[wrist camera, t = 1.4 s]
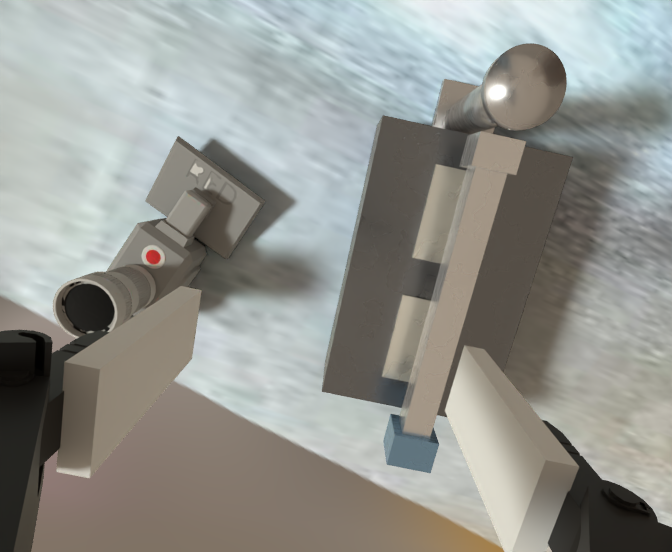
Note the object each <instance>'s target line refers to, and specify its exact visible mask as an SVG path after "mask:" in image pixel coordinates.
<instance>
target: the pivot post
mask: <svg viewBox="0 0 672 552" xmlns="http://www.w3.org/2000/svg"><path fill="white" fill-rule="evenodd" d="M565 92H566V73H565V69H564V66H563V64H562V62H561V60H560V59H559V58H558V56H557V55H556V54H555V53H554V52H553V51H551V50H550V49H548V48H546V47H544V46H542V45H538V44H522V45H518V46H515V47H513V48H511V49H509V50H508V51H506V52H505V53H503V54H502V55H501V56H500V57H498V58H497V59H496V60H495V61H494V62H493V63H492V64H491V66H490V67H489V69H488V70H487V72H486V74H485V76H484V79H483V82H482V84H481V85H480V86H474V85H470V84H465V83H461V82H456V81H452V80H447V79H444V80H443V81H442V85H441V89H440V93H439V97H438V102H437V106H436V110H435V114H434V118H433V122H432V126H434V127H438V128H443V129H447V130H452V131H456V132H461V133H465V134H470V135H472V134H474V133H477V132H480V131H482V132H486V133H491V134H493V132H494V128H495V127H497V126H499V127H501V128H504V129H507V130H512V131H521V130H526V129H530V128H534V127H536V126H539V125H541V124H543V123H544V122H546V121H547V120H549V119H550V118H551V117H552V116H553V115H554V114H555V112H556V111H557V110H558V108H559V107H560V105H561V103H562V101H563V98H564V96H565Z"/></svg>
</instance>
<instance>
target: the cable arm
mask: <svg viewBox="0 0 672 552" xmlns="http://www.w3.org/2000/svg"><path fill="white" fill-rule="evenodd" d="M525 144H526V141H522V140H518V139H513V138H509V137H504V136H500V135H495V134H491V133H486V132H482V131H480V132H477V133H474V134H472V135H469V136H467V140H466V144H465V148H464V151H463V155H462V159H461V163H460V166H459V167H464V168H467V169H466V173H465V176H464V180H463V184H462V188H461V191H460V195H459V199H458V202H457V206H456V210H455V213H454V217H453V221H452V224H451V228H450V232H449V235H448V239H447V243H446V247H445V250H444V254H443V258H442V261H441V265H440V269H439V272H438V276H437V280H436V283H435V287H434V291H433V295H432V298H431V302H430V306H429V309H428V313H427V317H426V320H425V324H424V328H423V331H422V335H421V339H420V342H419V346H418V350H417V354H416V357H415V361H414V365H413V368H412V372H411V376H410V379H409V383H408V387H407V390H406V394H405V398H404V401H403V405H402V409H401V413H400V416H399V415H394V414H391V415H390V418H389V422H388V426H387V430H386V433H385V437H384V448H385V455H386V462H387V465H392V466H397V467H402V468H407V469H412V470H417V471H422V472H427V473H431V469H432V466H433V463H434V459H435V456H436V453H437V449H438V446H439V443H438V440H437V437H436V434H435V431H434V428H433V426H434V423H435V419H436V416H437V412H438V409H439V406H440V402H441V399H442V395H443V392H444V388H445V385H446V382H447V378H448V375H449V371H450V368H451V365H452V361H453V358H454V354H455V351H456V348H457V344H458V341H459V337H460V334H461V330H462V327H463V324H464V320H465V317H466V313H467V310H468V307H469V303H470V300H471V296H472V293H473V289H474V286H475V283H476V279H477V276H478V272H479V269H480V266H481V262H482V259H483V255H484V252H485V248H486V245H487V242H488V238H489V235H490V231H491V228H492V225H493V221H494V218H495V214H496V211H497V207H498V204H499V201H500V197H501V194H502V190H503V187H504V184H505V180H506V177H507V175H516V174H517V171H518V167H519V164H520V161H521V157H522V154H523V150H524V147H525Z"/></svg>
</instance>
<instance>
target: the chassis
mask: <svg viewBox="0 0 672 552" xmlns="http://www.w3.org/2000/svg"><path fill="white" fill-rule="evenodd" d="M469 135H470V134H465V133H461V132H456V131H452V130H447V129H443V128H438V127H434V126H429V125H424V124H420V123H415V122H411V121H406V120H402V119H397V118H393V117H388V116H382V118H381V120H380V121H379V123H378V125H377V128H376V133H375V137H374V142H373V147H372V151H371V156H370V160H369V165H368V169H367V174H366V178H365V183H364V187H363V192H362V196H361V201H360V206H359V210H358V215H357V219H356V224H355V228H354V233H353V237H352V242H351V246H350V251H349V255H348V260H347V265H346V269H345V274H344V278H343V283H342V287H341V292H340V296H339V301H338V305H337V310H336V315H335V319H334V324H333V328H332V333H331V337H330V342H329V346H328V351H327V355H326V360H325V367H324V376H323V385H322V392H327V393H332V394H337V395H341V396H346V397H351V398H356V399H361V400H366V401H371V402H376V403H381V404H386V405H391V406H395V407H400V408H402V405H403V401H404V398H405V394H406V390H407V387H408V383H409V379H410V376H411V372H412V368H413V365H414V361H415V357H416V354H417V350H418V346H419V342H420V339H421V335H422V331H423V328H424V324H425V320H426V317H427V313H428V309H429V306H430V302H431V298H432V295H433V291H434V287H435V283H436V280H437V276H438V272H439V269H440V265H441V261H442V258H443V254H444V250H445V247H446V243H447V239H448V235H449V232H450V228H451V224H452V221H453V217H454V213H455V210H456V206H457V202H458V199H459V195H460V191H461V188H462V184H463V180H464V176H465V173H466V169H467V168H464V167H459V166H460V163H461V159H462V155H463V151H464V148H465V144H466V140H467V136H469ZM572 158H573V157H570V156H565V155H561V154H556V153H552V152H547V151H543V150H538V149H534V148H529V147H524V150H523V154H522V157H521V161H520V164H519V167H518V171H517V174H516V175H507V177H506V180H505V184H504V187H503V190H502V194H501V197H500V201H499V204H498V207H497V211H496V214H495V218H494V221H493V225H492V228H491V231H490V235H489V238H488V242H487V245H486V248H485V252H484V255H483V259H482V262H481V266H480V269H479V272H478V276H477V279H476V283H475V286H474V289H473V293H472V296H471V300H470V303H469V307H468V310H467V313H466V317H465V320H464V324H463V327H462V330H461V334H460V337H459V341H458V344H457V348H456V351H455V354H454V358H453V361H452V365H451V368H450V371H449V375H448V378H447V382H446V385H445V388H444V392H443V395H442V399H441V402H440V406H439V409H438V412H437V415H440V416H445V417H447V415H446V412H445V408H446V405H447V402H448V398H449V395H450V392H451V388H452V385H453V382H454V378H455V375H456V372H457V368H458V365H459V362H460V358H461V355H462V352H463V348H464V345H466V346H471V347H476V348H480V349H485V351H486V352H487V353H488V354H489V356H490V357H491V358H492V359H493V361H494V362H495V363H496V364H497V366H498V367H499V368H500V369H501V370H502V372H504V368H505V365H506V362H507V359H508V356H509V353H510V350H511V347H512V344H513V341H514V338H515V334H516V331H517V328H518V325H519V322H520V319H521V316H522V313H523V310H524V307H525V304H526V300H527V297H528V294H529V291H530V288H531V285H532V282H533V279H534V276H535V273H536V270H537V267H538V263H539V260H540V257H541V254H542V251H543V248H544V245H545V242H546V239H547V236H548V233H549V229H550V226H551V223H552V220H553V217H554V214H555V211H556V208H557V205H558V202H559V199H560V195H561V192H562V189H563V186H564V183H565V180H566V177H567V174H568V171H569V168H570V165H571V161H572Z"/></svg>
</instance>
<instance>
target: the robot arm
mask: <svg viewBox="0 0 672 552" xmlns="http://www.w3.org/2000/svg"><path fill="white" fill-rule="evenodd" d="M201 292H202V290H199V289H194V288H189V287H184V286H180V287H178V288H177V289H175V290H174V291H172V292H171V293H169V294H168V295H166V296H165V297H163V298H162V299H160V300H159V301H157V302H156V303H154V304H152V305H151V306H149V307H148V308H146V309H145V310H143V311H142V312H140V313H139V314H137V315H136V316H134V317H133V318H131V319H129V320H128V321H126V322H125V323H123V324H122V325H120V326H119V327H117V328H116V329H114V330H113V331H111V332H105V331H96V332H93V333H89V334H85V335H82V336H80V337H79V338H77V339H75V340H74V341H72V342H70V344H67V345H65V346H64V347H62V348H61V349H60V350H59V351H58V350H57V351H56V352H54V353H52V340H51V337H49V336H47V335H46V334H43V333H40V332H36V331H27V330H10V331H1V332H0V552H31V549H32V543H33V537H34V532H35V526H36V520H37V514H38V508H39V501H40V496H41V489H42V484H43V478H44V463H45V461H47V460H48V459H49V458H50V457H51V456H52V455H53V454H54V453H55V452H56V451H57V450H58V457H57V472H61V473H66V474H71V475H76V476H81V477H86V478H90V477H91V476H92V475H93V474H94V473H95V471H96V470H97V469H98V468H99V467H100V466H101V464H102V463H103V462H104V461H105V460H106V458H107V457H108V456H109V455H110V454H111V453H112V452H113V450H114V449H115V448H116V447H117V446H118V445H119V443H120V442H121V441H122V440H123V439H124V437H125V436H126V435H127V434H128V433H129V432H130V431H131V429H132V428H133V427H134V426H135V425H136V423H137V422H138V421H139V420H140V419H141V418H142V417H143V415H144V414H145V413H146V412H147V410H148V409H149V408H150V407H151V406H152V405H153V404H154V402H155V401H156V400H157V399H158V398H159V397H160V395H161V394H162V393H163V392H164V390H166V388H167V387H168V386H169V385H170V384H171V383H172V381H173V380H174V379H175V378H176V377H177V376H178V374H179V373H180V372H181V371H182V370H183V368H184V367H185V366H186V365H187V364H188V363H189V361H190V360H191V359H192V354H193V347H194V340H195V333H196V326H197V319H198V313H199V306H200V299H201ZM445 412H446V415H447V417H448V419H449V422H450V424H451V427H452V429H453V431H454V434H455V436H456V438H457V441H458V443H459V445H460V448H461V450H462V453H463V455H464V457H465V460H466V462H467V464H468V467H469V469H470V471H471V474H472V476H473V478H474V481H475V483H476V486H477V488H478V490H479V493H480V495H481V497H482V500H483V502H484V504H485V507H486V509H487V511H488V514H489V516H490V519H491V521H492V523H493V526H494V528H495V530H496V533H497V535H498V537H499V540H500V542H501V544H502V547H503V549H504V551H505V552H546V551H547V548H548V546H549V547H550V548H551V550H552V552H672V527H669V526H666V525H664V524H661V523H659V522H658V520H657V517H656V515H655V513H654V511H653V509H652V508H651V507H650V506H649V505H648V504H647V503H646V502H645V501H644V500H643V499H641V498H640V497H638V496H637V495H636V494H634V493H633V492H631V491H629V490H628V489H626V488H624V487H622V486H620V485H618V484H615V483H612V482H609V481H606V480H602V479H601V478H600V477H599V476H598V474H597V473H596V472H595V471H594V470H593V469H592V467H591V466H590V465H589V464H588V463H587V462H586V460H585V459H584V458H583V457H582V456H580V453H579V452H578V451H577V450H576V449H575V447H574V446H572V444H571V443H570V441H569V440H568V439H567V438H566V437H565V436H564V434H563V433H562V432H561V431H559V430H558V429H557V428H555V427H554V426H553V425H551V424H550V423H549V422H547V421H544V420H541V419H540V418H539V416H538V415H537V414H536V413H535V411H534V410H533V409H532V408H531V406H530V405H529V404H528V403H527V401H526V400H525V399H524V398H523V396H522V395H521V394H520V393H519V392H518V390H517V389H516V388H515V387H514V385H513V384H512V383H511V382H510V380H509V379H508V378H507V377H506V375H505V374H504V373H503V372H502V370H501V369H500V368H499V367H498V366H497V364H496V363H495V362H494V361H493V359H492V358H491V357H490V356H489V354H488V353H487V352H486V351H485V349H480V348H476V347H471V346H466V345H464V348H463V352H462V355H461V358H460V362H459V365H458V368H457V372H456V375H455V378H454V382H453V385H452V388H451V392H450V395H449V398H448V402H447V405H446V408H445Z"/></svg>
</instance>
